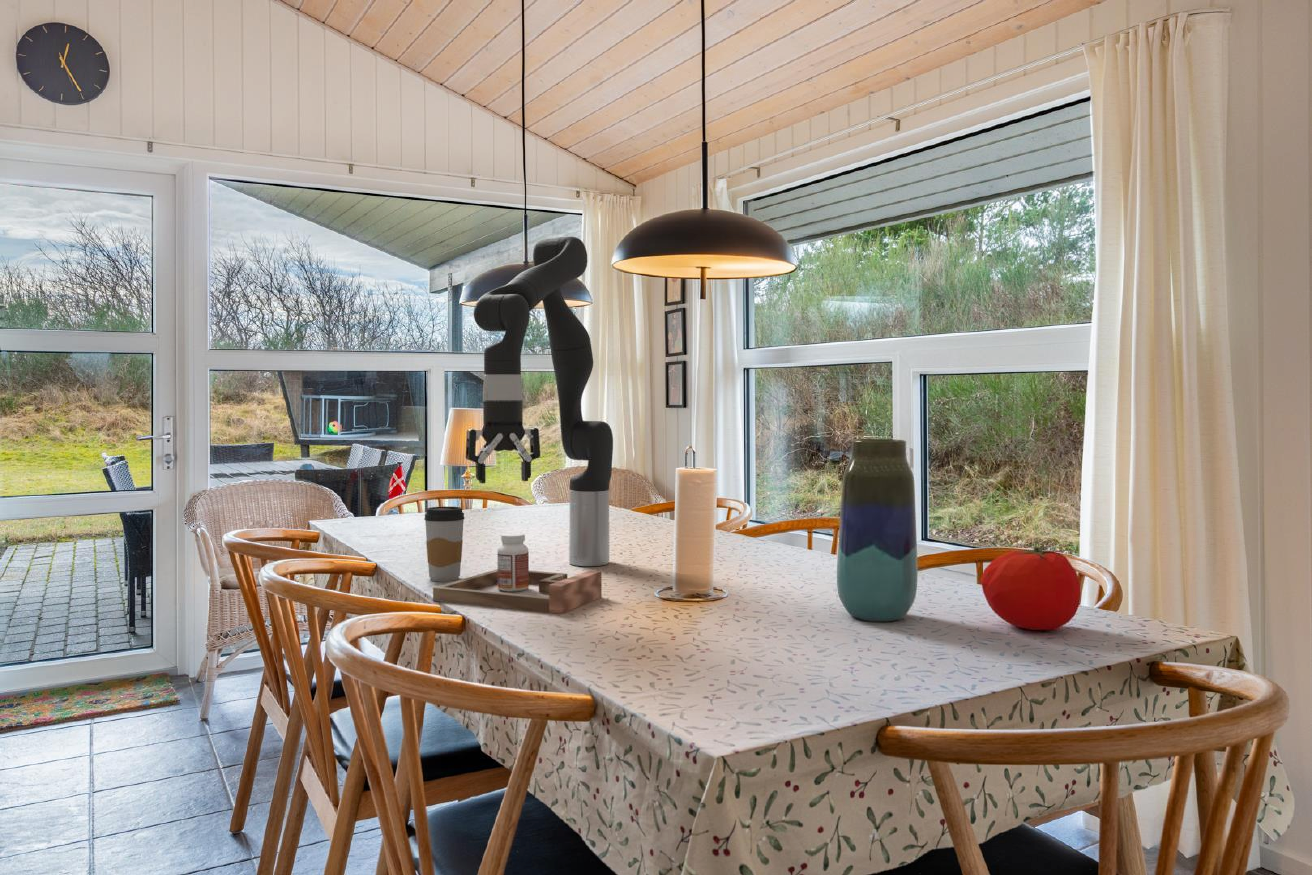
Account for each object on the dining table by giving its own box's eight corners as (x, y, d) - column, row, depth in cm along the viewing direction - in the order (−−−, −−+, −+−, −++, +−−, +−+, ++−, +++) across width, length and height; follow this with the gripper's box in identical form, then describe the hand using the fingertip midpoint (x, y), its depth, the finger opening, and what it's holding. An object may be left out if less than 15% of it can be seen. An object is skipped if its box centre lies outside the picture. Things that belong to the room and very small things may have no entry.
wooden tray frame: (500, 579, 199) (500, 555, 199) (618, 590, 188) (618, 565, 188) (433, 600, 177) (433, 573, 177) (561, 613, 167) (561, 585, 166)
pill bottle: (527, 585, 192) (527, 531, 192) (530, 591, 186) (530, 535, 186) (496, 586, 191) (496, 532, 190) (498, 592, 185) (498, 536, 184)
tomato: (1084, 626, 160) (1086, 545, 159) (1074, 643, 148) (1076, 556, 148) (988, 615, 168) (990, 538, 167) (971, 630, 156) (973, 548, 156)
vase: (916, 611, 171) (919, 439, 170) (916, 628, 157) (919, 442, 156) (839, 606, 174) (841, 438, 173) (832, 622, 161) (835, 440, 160)
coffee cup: (469, 575, 203) (469, 506, 202) (457, 583, 195) (457, 510, 194) (432, 574, 204) (431, 505, 203) (418, 582, 195) (418, 510, 195)
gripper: (531, 398, 188) (532, 478, 189) (461, 398, 182) (462, 482, 183) (544, 398, 181) (544, 482, 182) (471, 398, 175) (472, 485, 176)
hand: (503, 481), depth 182 cm, fingers open, 8 cm apart
